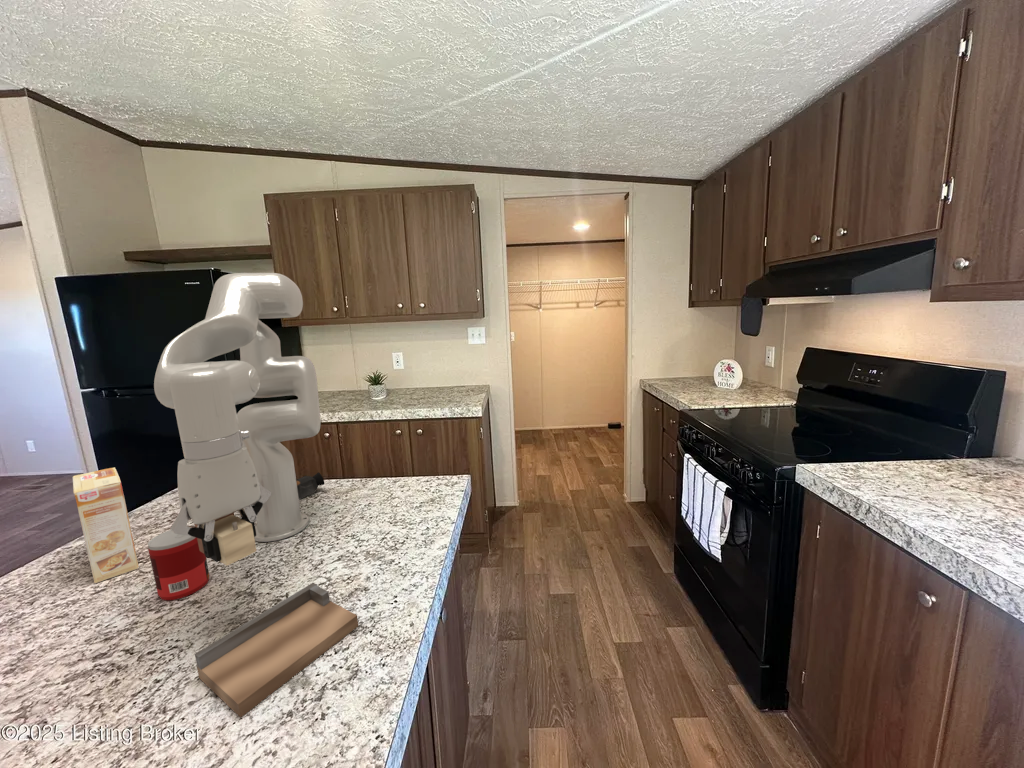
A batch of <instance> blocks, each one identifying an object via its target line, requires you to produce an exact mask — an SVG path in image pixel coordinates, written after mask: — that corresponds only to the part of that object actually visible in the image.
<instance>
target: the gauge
mask: <svg viewBox="0 0 1024 768" xmlns="http://www.w3.org/2000/svg"><path fill="white" fill-rule="evenodd" d="M193 524H194V523H193ZM193 526H195V527H197V526H198V525H197V524H194V525H193ZM214 537H216V538H217V539H218V543H219V548H220V554H221V561H219V562H220V563H221V564H223V565H225V566H226V567H228V566H231V565H232V564H234V563H236V562H238V561H240V560H242V559H244V558H246V557H247V556H250V555H252V554H254V553H256V552H257V546H256V541H255V539H254V533H253V527H252V524H251V523H249V522H247V521H245V520H243V519H241V517H238V516H236V515H235V512H233V513H231V514H228V515H226V516H223V517H221V518H218V519H216V520H215V524H214ZM197 540H198V545H199V550H200V551H201V552H202V553H204V550H203V545H202V540H201V539H199V538H197Z"/></svg>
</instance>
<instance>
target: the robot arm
mask: <svg viewBox="0 0 1024 768" xmlns="http://www.w3.org/2000/svg"><path fill="white" fill-rule="evenodd" d="M210 296H211V297H210V300H209V302H208V303H209V304H208V307H207V310H206V314H205V317H204V319H203V320H201V321H198V322H197V323H195V324H194V325H192V326H191V327H188V328H187V329H186V330H185V331H183V332H182V333H180V334H178V335H177V336H175V337H174V338H173V339H171V340H170V341H169V342H168V344H167V345H166V346H165V347H164V349H163V351H162V353H161V355H160V359H159V360H158V361H159V362H158V363H157V367H156V371H155V375H154V380H153V382H154V383H153V388H154V389H153V390H154V395H155V397H156V399H157V400H158V402H160V404H161V405H163V406H164V407H166V408H169V409H173V410H174V413H175V417H176V424H177V428H178V433H179V437H180V443H181V447H182V448H181V449H182V453H183V457H184V458H183V459H180V460H179V461H178V462H177V492H178V493H177V494H178V502H179V511H178V514H177V516H176V518H175V520H174V521H173V523H172V525H171V527H170V530H171V531H172V532H173V533H175V534H181V535H190V536H193V537H196V538H199V539H201V540H202V545H203V550H204V554H205V556H206V559H211V560H212V561H214V562H215V563H219V562H220V561H221V554H220V548H219V543H218V539H217V538H216V537H214V524H215V520H216V519H218V518H221V517H223V516H226V515H228V514H231V513H233V512H234V513H235V512H239V516H240V518H241V519H243V520H245V521H247V522H249V523H251V524H252V527H253V533H254V539H255V542H259V543H267V542H268V543H270V542H275V541H281V540H285V539H286V538H290V537H292V536H294V535H296V534H298V533H300V532H302V531H304V529H306V528H307V527H308V525H309V523H310V520H309V515H307V514H306V513H303V512H301V510H302V509H301V503H300V499H299V496H298V489H297V482H296V480H297V477H296V476H297V475H296V470H295V462H294V457H293V454H292V453H291V451H289V449H288V448H287V447H286V446H285V445H283V443H281V442H285V441H293V440H302V439H308V438H309V439H310V438H313V437H314V436H316V435H318V433H320V429H321V422H322V421H321V409H320V397H319V389H318V387H319V386H318V378H317V377H318V376H317V372H316V368H315V365H314V363H313V361H312V360H311V359H310V358H309V357H308V356H307V357H306V356H303V355H292V356H289V355H288V356H282V351H281V340H280V338H279V335H277V333H276V332H275V331H274V330H272V329H271V328H270V327H269V326H268V325H267V324H265V323H264V322H262V320H263V319H264V320H265V319H283V318H285V319H286V318H288V319H289V318H296V317H298V316H300V315H301V313H302V311H303V308H304V307H303V306H304V301H303V295H302V292H301V290H300V288H299V286H298V285H297V284H296V283H295V282H294V281H293V280H292V279H291V278H289V276H286V275H285V274H281V273H276V272H234V273H228V274H224V275H222V276H220V277H219V278H217V280H216V281H215V283H214V285H213V288H212V291H211V295H210ZM261 319H262V320H261ZM235 350H239V355H240V359H239V360H221V361H208V360H210V359H213V358H215V357H218V356H222V355H225V354H227V353H231V352H233V351H235ZM285 396H287V397H289V396H296V397H297V399H290V400H275V401H265V402H259V403H258V402H257V403H253V404H249V405H246V406H244V407H242V408H241V409H240V410H239V411H238V412H237V408H236V406H237V405H239V404H244V403H247V402H249V401H251V400H252V399H253V398H255V399H256V398H257V399H263V398H264V399H265V398H277V397H278V398H279V397H285ZM190 519H191V522H192V524H197V525H198V526H197V527H194V526H195V525H188V523H189V521H190ZM255 523H256V524H255Z"/></svg>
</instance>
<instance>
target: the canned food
mask: <svg viewBox="0 0 1024 768" xmlns="http://www.w3.org/2000/svg"><path fill="white" fill-rule="evenodd" d="M193 526H194V527H195V525H193ZM147 549H148V555H149V556H148V557H149V560H150V565H151V569H152V574H153V579H154V582H155V588H156V591H157V595H158V597H159V598H160V599H161V600H163V601H174V600H175V601H176V600H179V599H183V598H185V597H188V596H190V595H193V594H195V593H197V592H198V591H200V590H201V589H202V588H204V587H205V586H206V585H207V584H208V582H209V579H210V572H209V571H210V570H209V565H208V558H207V557H206V556H205V554H204V553H202V552H201V551H200V550H199V545H198V540H197V538H196V537H193V536H190V535H181V534H175V533H173V532H172V531H171V529H170V530H166V531H164V532H161V533H160V534H158V535H156V536H155V537H153V538H151V539H150V540H149V541H148V543H147Z"/></svg>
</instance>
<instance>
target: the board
mask: <svg viewBox="0 0 1024 768" xmlns="http://www.w3.org/2000/svg"><path fill="white" fill-rule="evenodd" d="M329 593H330V592H329V591H328V590H326V589H324V588H322V587H320V585H319V586H318V584H317V583H315V582H311V583H309V584H308V585H307V586H305V587H303V588H301V589H299V590H298V591H296V592H294V593H293V594H291V595H290V596H288V597H287V598H285V599H284V600H282V601H280V602H278V603H277V604H275V605H273V606H272V607H270V608H269V609H267V610H265V611H263V612H262V613H260V614H259V615H257V616H255V617H253V618H252V619H250V620H249V621H247V622H245V623H244V624H242V625H240V626H239V627H237V628H235V629H234V630H232V631H230V632H229V633H227V634H225V635H223V636H222V637H220V638H219V639H217V640H215V641H214V642H212V643H211V644H209V645H207V646H205V647H204V648H202V649H201V650H199V651H198V652H196V653H194V657H195V660H196V670H197V673H198V674H197V675H198V678H199V679H200V680H201V681H202V682H203V683H204V684H205V686H207V687H208V688H209V689H210V690H211V691H212V692H213V693H214V694H215V695H217V697H218V698H220V699H221V700H222V702H223V703H224V704H225V705H227V706H228V707H229V708H230V709H231V710H232V711H233V712H234V713H235V714H236V715H237V716H238V717H239V718H242V717H244V716H245V715H246V714H247V713H249V712H250V711H251V710H253V708H255V707H256V706H258V705H259V704H260V703H262V702H263V701H264V700H265V699H267V698H268V697H270V696H271V695H272V694H273V693H274V692H275V691H277V690H278V689H280V688H281V687H282V686H284V684H286V683H288V681H290V680H292V678H294V677H295V676H297V675H298V674H299V673H300V672H301V671H303V670H304V669H305V668H307V667H308V666H309V665H310V664H312V663H313V662H314V661H315V660H317V659H318V658H319V657H321V656H322V655H323V654H325V653H326V652H327V651H329V650H330V649H332V647H334V646H335V645H336V644H338V643H339V642H340V641H341V640H343V639H344V638H346V636H348V635H349V634H351V633H352V632H353V631H354V630H356V629H357V628H358V627H359V619H358V614H355V613H354V612H352V611H350V610H348V609H347V608H345V607H342V606H340V605H339V604H336V603H335V602H334V601H331V600H330V594H329Z"/></svg>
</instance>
